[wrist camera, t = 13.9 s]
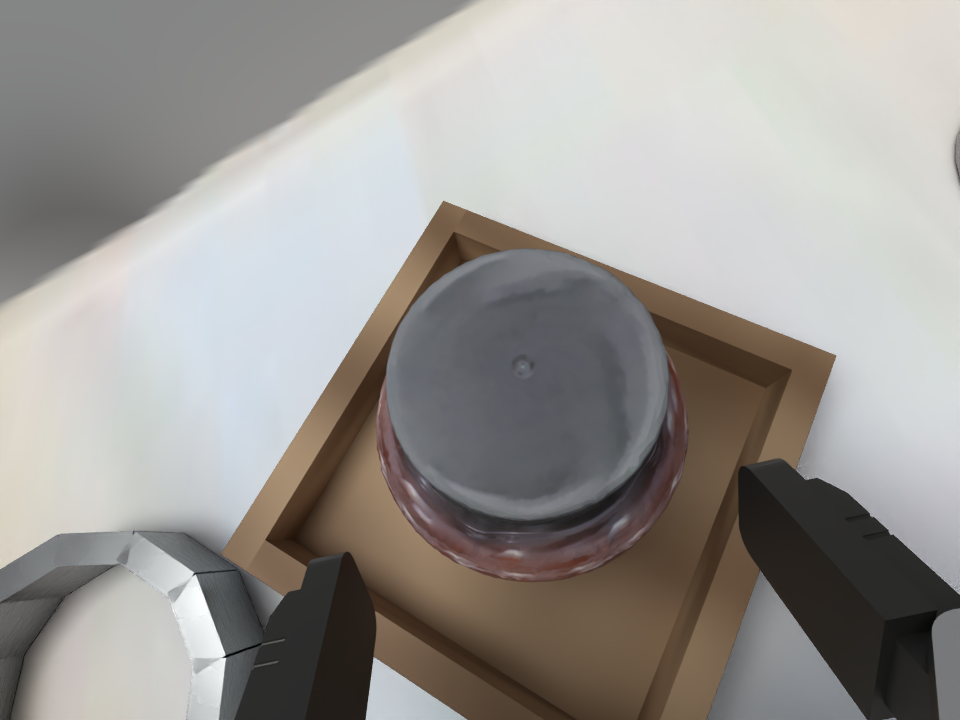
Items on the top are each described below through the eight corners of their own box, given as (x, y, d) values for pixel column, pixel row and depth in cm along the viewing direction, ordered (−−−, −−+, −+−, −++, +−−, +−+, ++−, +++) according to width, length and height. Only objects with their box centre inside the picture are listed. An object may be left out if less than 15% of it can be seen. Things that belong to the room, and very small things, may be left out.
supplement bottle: (417, 438, 19) (253, 297, 8) (561, 357, 19) (588, 122, 8) (498, 601, 17) (424, 702, 6) (658, 506, 17) (855, 444, 6)
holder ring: (113, 486, 20) (58, 478, 18) (320, 624, 18) (286, 636, 15) (-74, 751, 18) (-168, 783, 16) (134, 955, 15) (62, 1028, 13)
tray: (455, 244, 22) (443, 200, 19) (792, 383, 19) (836, 355, 16) (268, 552, 19) (220, 554, 16) (638, 793, 15) (660, 848, 13)
